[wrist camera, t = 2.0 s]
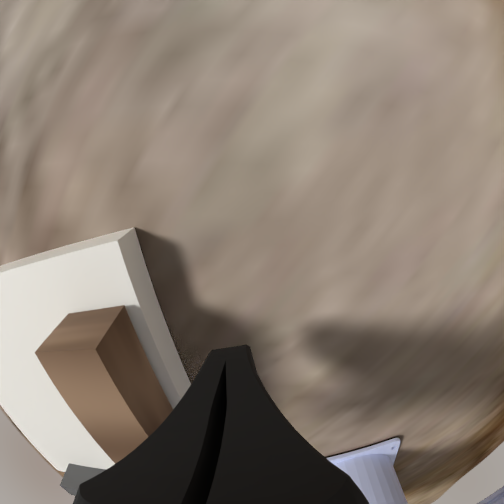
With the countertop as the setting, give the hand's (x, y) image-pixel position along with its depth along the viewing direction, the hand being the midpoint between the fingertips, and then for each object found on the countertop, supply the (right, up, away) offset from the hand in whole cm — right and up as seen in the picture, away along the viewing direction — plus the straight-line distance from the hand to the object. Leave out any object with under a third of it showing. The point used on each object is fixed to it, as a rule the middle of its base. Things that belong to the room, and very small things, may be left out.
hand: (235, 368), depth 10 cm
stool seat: (-11, -5, +5) cm, 13 cm away
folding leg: (-5, -4, +3) cm, 7 cm away
